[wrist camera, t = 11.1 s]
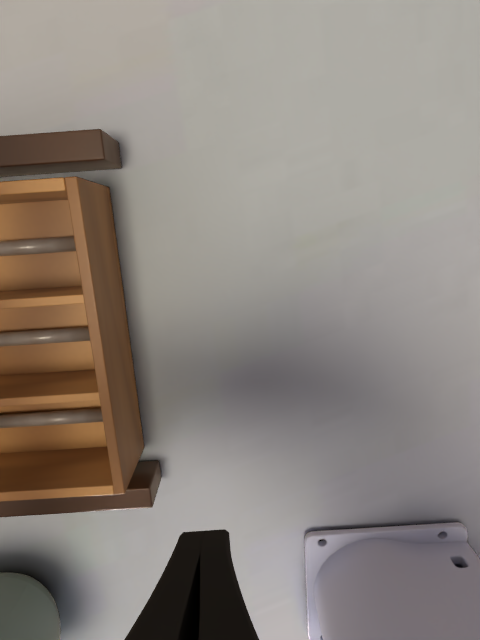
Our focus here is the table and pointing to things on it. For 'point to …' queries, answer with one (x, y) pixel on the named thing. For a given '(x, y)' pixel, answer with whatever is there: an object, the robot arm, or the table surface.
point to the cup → (27, 609)
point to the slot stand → (58, 157)
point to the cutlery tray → (63, 345)
